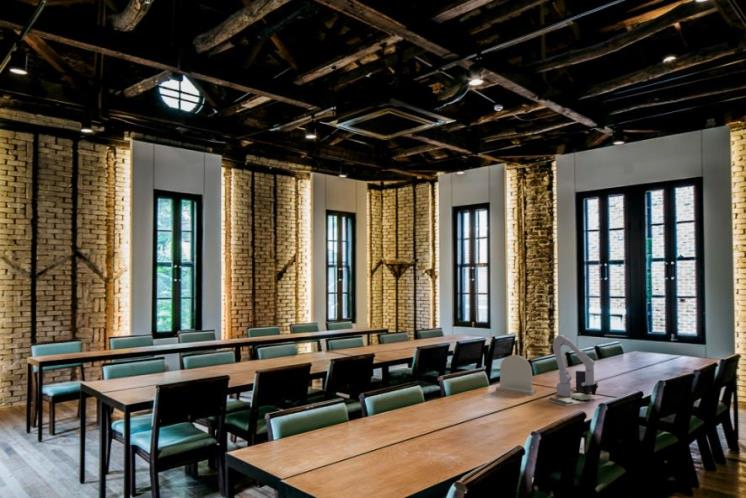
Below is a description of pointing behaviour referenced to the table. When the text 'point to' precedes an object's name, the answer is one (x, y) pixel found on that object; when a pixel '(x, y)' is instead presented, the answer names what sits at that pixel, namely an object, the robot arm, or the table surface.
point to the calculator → (581, 381)
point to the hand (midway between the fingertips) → (589, 395)
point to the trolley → (580, 396)
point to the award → (516, 375)
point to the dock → (565, 401)
